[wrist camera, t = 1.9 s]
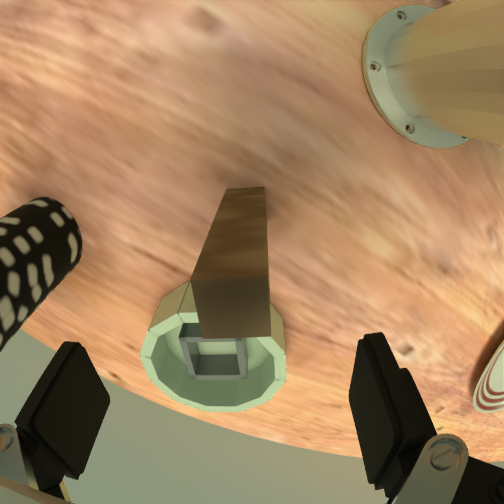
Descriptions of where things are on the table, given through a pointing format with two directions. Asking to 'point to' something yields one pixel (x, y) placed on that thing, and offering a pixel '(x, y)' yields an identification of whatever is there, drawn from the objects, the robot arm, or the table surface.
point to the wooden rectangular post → (235, 270)
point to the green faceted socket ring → (211, 359)
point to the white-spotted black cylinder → (33, 259)
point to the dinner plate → (491, 385)
